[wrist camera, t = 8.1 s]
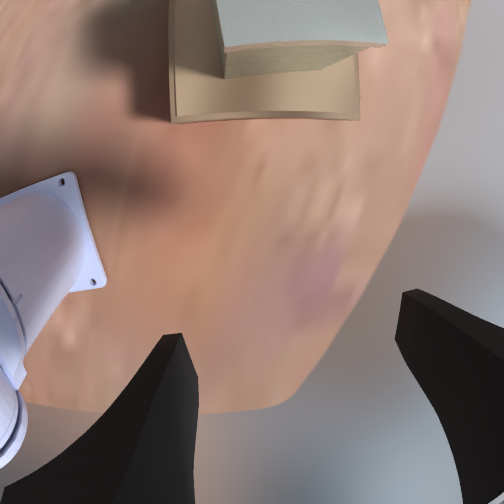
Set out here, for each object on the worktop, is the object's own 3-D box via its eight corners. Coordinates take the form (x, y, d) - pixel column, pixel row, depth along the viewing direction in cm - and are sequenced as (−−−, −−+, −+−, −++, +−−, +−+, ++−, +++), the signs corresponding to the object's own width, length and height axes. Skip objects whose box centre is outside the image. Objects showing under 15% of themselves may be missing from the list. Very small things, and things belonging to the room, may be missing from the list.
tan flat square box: (181, 124, 16) (170, 123, 12) (179, -8, 12) (170, -37, 8) (331, 120, 17) (361, 120, 13) (324, -6, 13) (348, -30, 9)
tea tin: (222, 81, 12) (224, 46, 6) (208, -4, 10) (202, -73, 4) (323, 72, 12) (389, 44, 6) (306, -10, 10) (353, -70, 4)
